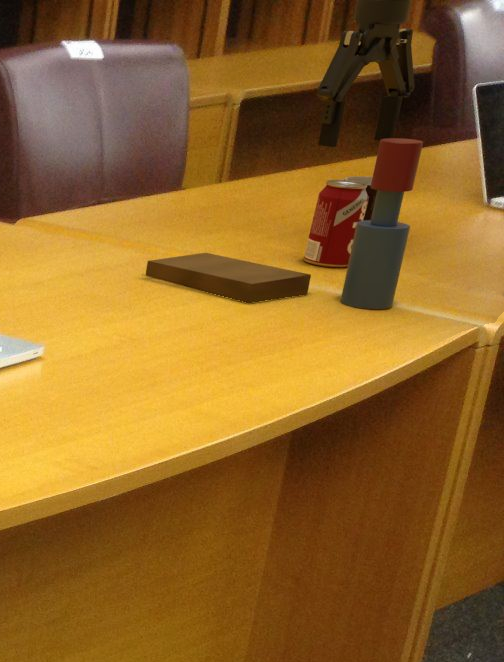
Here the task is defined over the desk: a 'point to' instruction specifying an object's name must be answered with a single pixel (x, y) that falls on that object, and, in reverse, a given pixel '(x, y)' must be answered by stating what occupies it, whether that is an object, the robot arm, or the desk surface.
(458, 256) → the desk surface
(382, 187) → the cap
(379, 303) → the bottle
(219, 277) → the slab
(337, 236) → the soda can
